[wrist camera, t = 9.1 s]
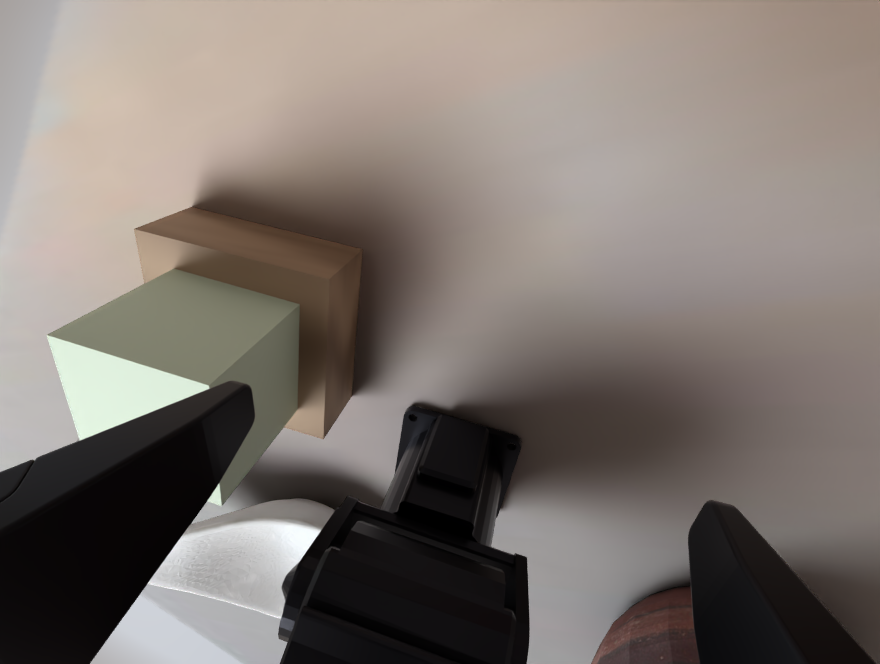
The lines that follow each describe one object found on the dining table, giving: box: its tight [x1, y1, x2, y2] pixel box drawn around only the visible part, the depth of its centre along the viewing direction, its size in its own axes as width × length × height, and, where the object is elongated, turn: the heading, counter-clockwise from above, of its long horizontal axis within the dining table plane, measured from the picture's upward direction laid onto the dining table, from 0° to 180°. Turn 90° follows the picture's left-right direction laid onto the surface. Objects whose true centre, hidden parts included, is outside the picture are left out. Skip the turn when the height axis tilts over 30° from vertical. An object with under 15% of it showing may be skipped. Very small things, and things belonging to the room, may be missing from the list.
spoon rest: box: [76, 439, 335, 619], centre depth 32 cm, size 24×12×7 cm, turn 74°
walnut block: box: [134, 207, 363, 439], centre depth 24 cm, size 9×9×4 cm
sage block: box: [47, 269, 300, 506], centre depth 20 cm, size 6×6×6 cm
